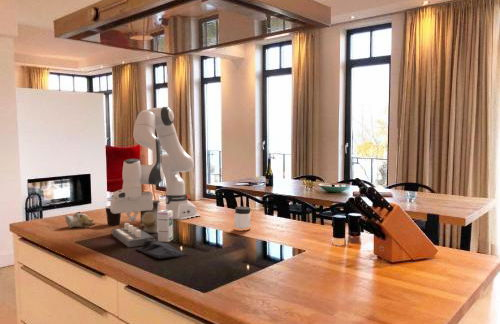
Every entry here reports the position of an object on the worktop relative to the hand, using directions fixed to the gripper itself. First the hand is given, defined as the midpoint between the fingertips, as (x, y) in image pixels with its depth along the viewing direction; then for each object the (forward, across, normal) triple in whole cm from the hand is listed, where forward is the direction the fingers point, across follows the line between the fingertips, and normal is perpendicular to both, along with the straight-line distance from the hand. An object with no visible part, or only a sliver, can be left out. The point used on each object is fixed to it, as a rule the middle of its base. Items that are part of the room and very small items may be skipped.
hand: (132, 220), depth 202 cm
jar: (+9, -57, +11) cm, 59 cm away
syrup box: (+9, -13, +10) cm, 19 cm away
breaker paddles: (+6, 0, 0) cm, 6 cm away
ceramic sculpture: (+10, +16, -39) cm, 44 cm away
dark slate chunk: (+10, -4, +28) cm, 30 cm away
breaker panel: (+9, 0, 0) cm, 9 cm away
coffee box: (+9, -13, -11) cm, 19 cm away
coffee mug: (+9, -2, -37) cm, 38 cm away
